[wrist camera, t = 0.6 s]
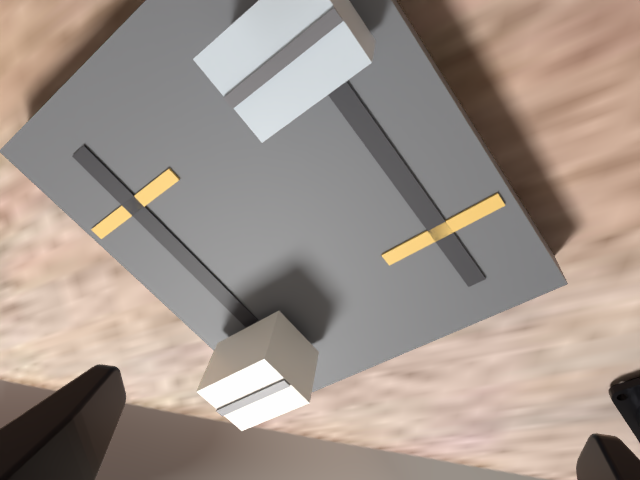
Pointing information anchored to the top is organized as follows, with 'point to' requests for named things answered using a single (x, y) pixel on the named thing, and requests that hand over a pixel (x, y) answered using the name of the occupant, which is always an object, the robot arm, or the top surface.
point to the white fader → (286, 59)
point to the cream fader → (260, 372)
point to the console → (288, 192)
